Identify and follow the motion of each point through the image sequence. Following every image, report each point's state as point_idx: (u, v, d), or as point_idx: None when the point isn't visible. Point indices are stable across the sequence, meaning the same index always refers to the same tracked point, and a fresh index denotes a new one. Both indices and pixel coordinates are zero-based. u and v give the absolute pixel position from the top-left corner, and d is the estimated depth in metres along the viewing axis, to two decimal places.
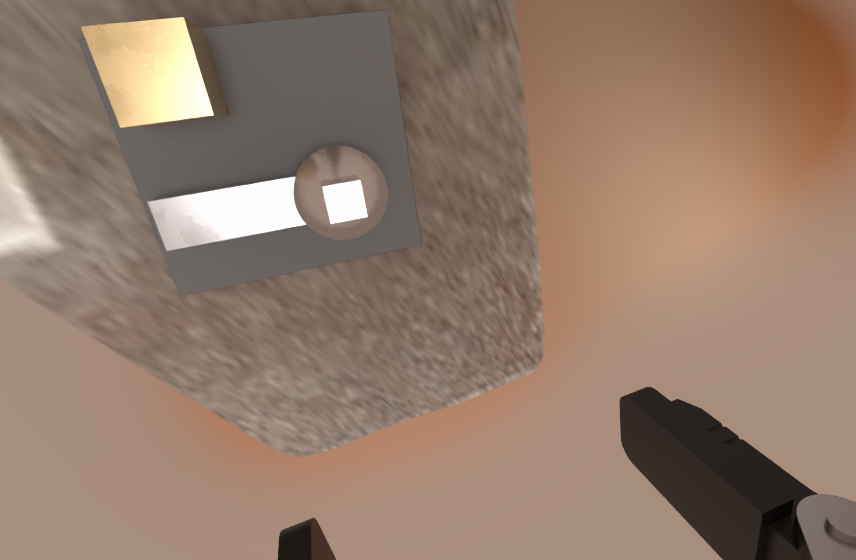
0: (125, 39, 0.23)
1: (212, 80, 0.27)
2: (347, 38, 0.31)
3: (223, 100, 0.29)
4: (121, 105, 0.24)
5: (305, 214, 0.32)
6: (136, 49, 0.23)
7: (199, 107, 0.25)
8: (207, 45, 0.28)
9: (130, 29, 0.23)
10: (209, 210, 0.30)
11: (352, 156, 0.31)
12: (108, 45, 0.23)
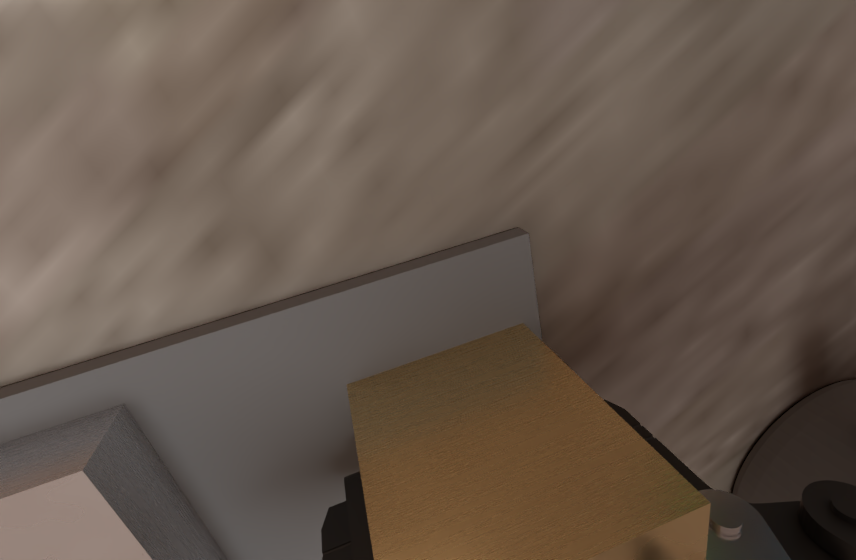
0: None
1: None
2: None
3: None
4: None
5: None
6: None
7: None
8: None
9: None
10: None
11: None
12: None
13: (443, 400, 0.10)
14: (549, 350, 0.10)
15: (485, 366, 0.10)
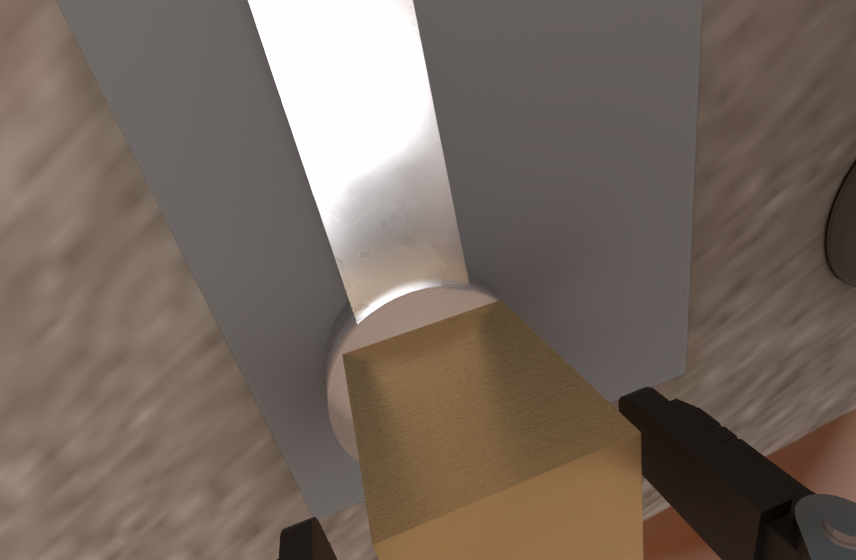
0: (608, 516, 0.08)
1: None
2: (659, 327, 0.19)
3: None
4: (443, 535, 0.07)
5: (388, 325, 0.12)
6: (585, 537, 0.08)
7: None
8: None
9: (627, 520, 0.08)
10: (374, 74, 0.10)
11: None
12: (596, 488, 0.08)
13: (426, 363, 0.11)
14: (521, 321, 0.12)
15: (465, 335, 0.12)
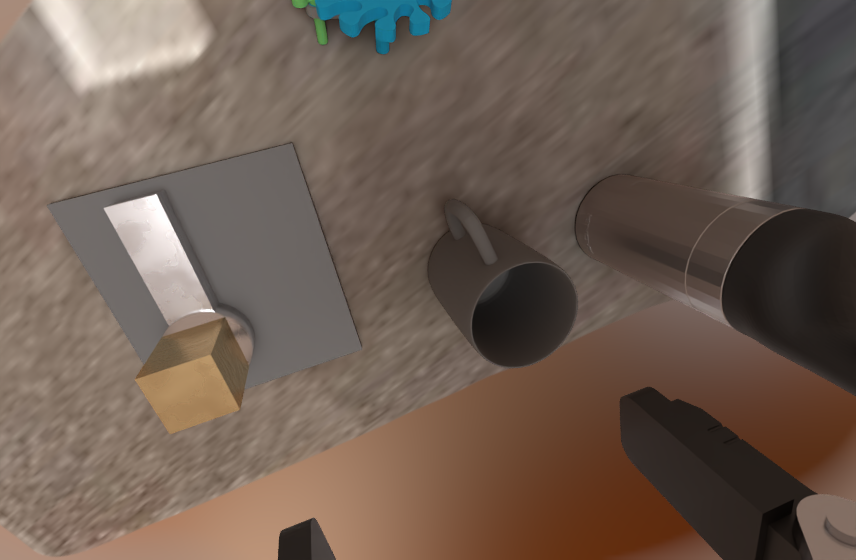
0: (210, 379, 0.30)
1: None
2: (337, 327, 0.40)
3: None
4: (155, 379, 0.29)
5: (178, 326, 0.34)
6: (205, 385, 0.30)
7: (172, 425, 0.30)
8: None
9: (219, 381, 0.30)
10: (161, 245, 0.32)
11: (245, 355, 0.36)
12: (202, 370, 0.29)
13: (182, 339, 0.32)
14: (221, 325, 0.33)
15: (201, 330, 0.33)
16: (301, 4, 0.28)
